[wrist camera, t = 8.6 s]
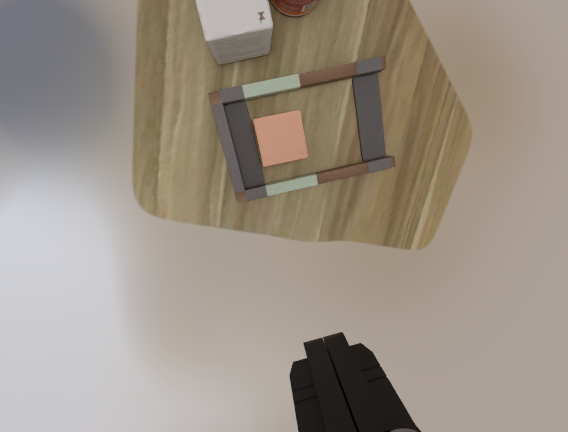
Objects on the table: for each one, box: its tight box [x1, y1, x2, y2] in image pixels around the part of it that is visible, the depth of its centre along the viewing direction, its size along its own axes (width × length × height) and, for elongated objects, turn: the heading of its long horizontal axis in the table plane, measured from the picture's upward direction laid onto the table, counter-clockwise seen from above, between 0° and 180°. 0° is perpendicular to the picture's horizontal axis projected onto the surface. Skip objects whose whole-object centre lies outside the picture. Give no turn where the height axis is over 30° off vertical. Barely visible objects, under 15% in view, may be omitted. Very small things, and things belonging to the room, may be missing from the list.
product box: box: [195, 0, 273, 65], centre depth 25 cm, size 6×6×7 cm
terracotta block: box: [253, 110, 308, 167], centre depth 30 cm, size 5×5×4 cm
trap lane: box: [208, 56, 395, 203], centre depth 32 cm, size 12×20×2 cm, turn 102°
